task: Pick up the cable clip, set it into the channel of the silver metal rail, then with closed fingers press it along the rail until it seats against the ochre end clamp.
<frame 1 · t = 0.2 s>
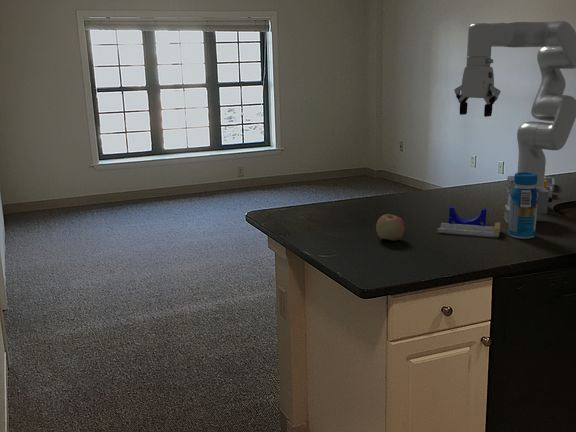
hand: (475, 115, 212), 36 cm above the worktop, tool pointing down, fingers open, 9 cm apart
cable clip: (467, 226, 217), on the worktop
teacup: (535, 188, 271), resting in cup tray
apple: (390, 240, 201), on the worktop
cup tray: (535, 186, 271), on the worktop
circuit breaker: (527, 221, 220), on the worktop
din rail: (468, 232, 208), on the worktop
clamp tray: (529, 194, 257), on the worktop
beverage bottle: (521, 236, 203), on the worktop
pipe clamp: (529, 195, 257), resting in clamp tray
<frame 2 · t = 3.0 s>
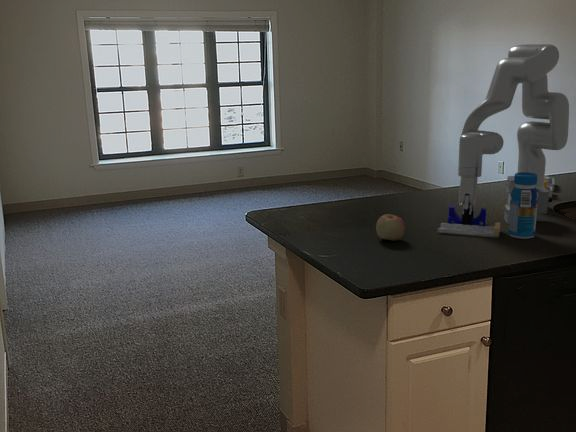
hand: (467, 223, 216), 1 cm above the worktop, tool pointing down, fingers closed on cable clip, 4 cm apart
cable clip: (466, 225, 217), on the worktop, touching gripper
teacup: (538, 188, 270), resting in cup tray
pipe clamp: (529, 196, 256), resting in clamp tray
everything else where it was.
when the fingers open (2 cm above the worktop, at t = 6.9 s): cable clip drops 1 cm, resting on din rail.
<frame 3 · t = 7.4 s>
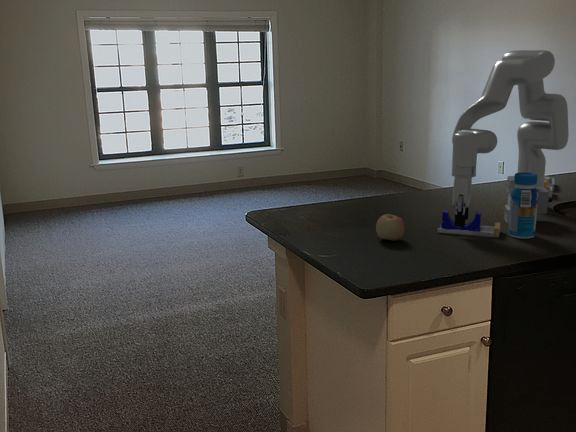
hand: (461, 222, 208), 3 cm above the worktop, tool pointing down, fingers open, 9 cm apart
cable clip: (460, 231, 209), resting on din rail
pipe clamp: (529, 196, 256), resting in clamp tray
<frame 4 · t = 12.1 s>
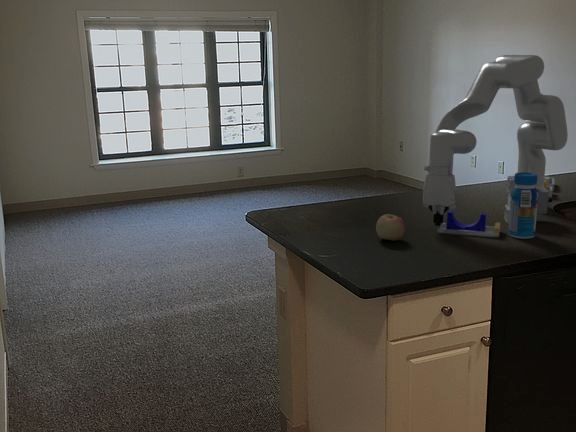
hand: (438, 225, 210), 2 cm above the worktop, tool pointing down, fingers closed
cable clip: (465, 231, 208), resting on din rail
pipe clamp: (528, 196, 256), resting in clamp tray
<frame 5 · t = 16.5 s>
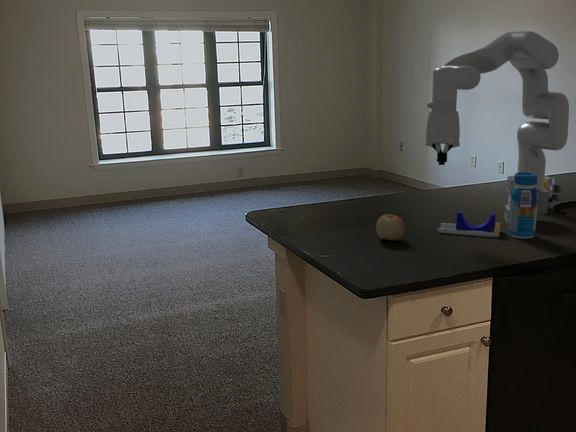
hand: (441, 164, 205), 22 cm above the worktop, tool pointing down, fingers closed
cable clip: (475, 232, 207), resting on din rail
everything else where it was.
at the end: cable clip 0.7 cm from the target spot on the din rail, point 0.1 cm above the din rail's base; cable clip touching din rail; the gripper is holding nothing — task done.
